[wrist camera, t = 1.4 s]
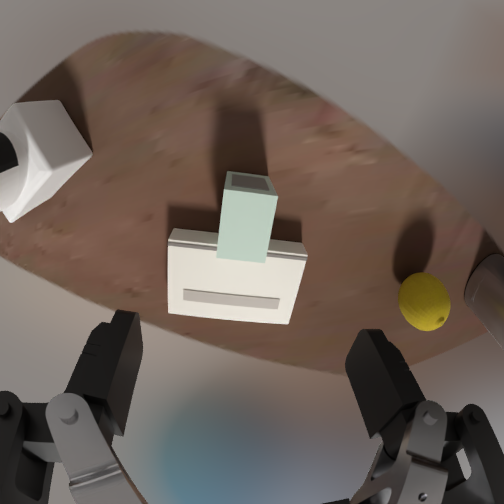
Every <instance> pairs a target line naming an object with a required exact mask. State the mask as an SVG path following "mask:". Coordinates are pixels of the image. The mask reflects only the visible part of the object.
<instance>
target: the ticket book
mask: <svg viewBox="0 0 504 504" xmlns="http://www.w3.org/2000/svg"><path fill="white" fill-rule="evenodd" d="M218 236H219V233H214V232H205V231H196V230H187V229H177V228H174V229H173V231H172V233H171V235H170V237H169V239H168V313H173V314H181V315H189V316H198V317H207V318H216V319H226V320H237V321H248V322H261V323H275V324H288V323H289V320H290V316H291V313H292V309H293V306H294V303H295V299H296V296H297V292H298V289H299V285H300V281H301V278H302V274H303V270H304V267H305V263H306V261H307V252H306V250H305V248H304V246H303V244H302V243H299V242H290V241H282V240H274V239H270V241H269V246H268V251H267V256H266V261H265V263H258V262H249V261H240V260H230V259H221V258H216V255H217V245H218Z"/></svg>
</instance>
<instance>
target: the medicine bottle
mask: <svg viewBox="0 0 504 504" xmlns="http://www.w3.org/2000/svg"><path fill="white" fill-rule="evenodd" d="M92 154H93V153H92V151H91V150H90V148H89V146H88V145H87V143H86V142H85V140H84V139H83V137H82V136H81V134H80V132H79V131H78V129H77V128H76V126H75V125H74V123H73V121H72V120H71V118H70V116H69V115H68V113H67V112H66V110H65V108H64V107H63V105H62V103H61V102H60V101H59V100H46V101H32V102H21V103H14V104H12V105H11V106H10V108H9V109H8V110H7V112H6V113H5V115H4V116H3V118H2V119H1V121H0V212H1V211H3V213H4V214H5V216H6V218H7V219H8V221H9V222H11V223H12V222H14V221H15V220H17V219H18V218H20V217H21V216H23V215H24V214H26V213H27V212H29V211H30V210H32V209H33V208H35V207H36V206H38V205H40V204H41V203H43V202H44V201H46V200H48V199H49V198H51V197H52V196H53V195H54V194H55V193H56V192H57V191H58V189H59V188H60V187H61V186H62V185H63V184H64V183H65V182H66V181H67V180H68V179H69V178H70V177H71V176H72V175H73V174H74V173H75V172H76V171H77V170H78V169H79V168H80V167H81V166H82V165H83V164H84V163H85V162H86V161H87V160H89V159H90V158H91V156H92Z"/></svg>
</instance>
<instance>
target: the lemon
mask: <svg viewBox="0 0 504 504" xmlns="http://www.w3.org/2000/svg"><path fill="white" fill-rule="evenodd" d="M398 303H399V307H400V310H401V312H402V314H403V315H404V317H405V318H406V320H407V321H408V322H409V323H410V324H412V325H413V326H414V327H416V328H417V329H420V330H424V331H429V330H434V329H436V328H438V327H440V326H442V325H443V323H444V322H445V321H446V319H447V317H448V315H449V312H450V298H449V295H448V292H447V290H446V289H445V287H444V286H443V284H442V283H441V281H440V280H438V279H437V278H436V277H434V276H433V275H431V274H429V273H424V272H420V273H415V274H412V275H410V276H409V277H407V278H406V279H405V280H404V282H403V283H402V285H401V287H400V289H399V293H398Z"/></svg>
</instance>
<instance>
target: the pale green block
mask: <svg viewBox="0 0 504 504" xmlns="http://www.w3.org/2000/svg"><path fill="white" fill-rule="evenodd" d="M277 199H278V195H277V193H276V191H275V189H274V187H273V185H272V183H271V181H270V178H269V176H262V175H255V174H248V173H240V172H232V171H227V175H226V181H225V186H224V193H223V202H222V210H221V218H220V227H219V236H218V245H217V255H216V258H221V259H230V260H240V261H249V262H258V263H265V261H266V256H267V251H268V246H269V241H270V235H271V230H272V225H273V220H274V214H275V209H276V204H277Z"/></svg>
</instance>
